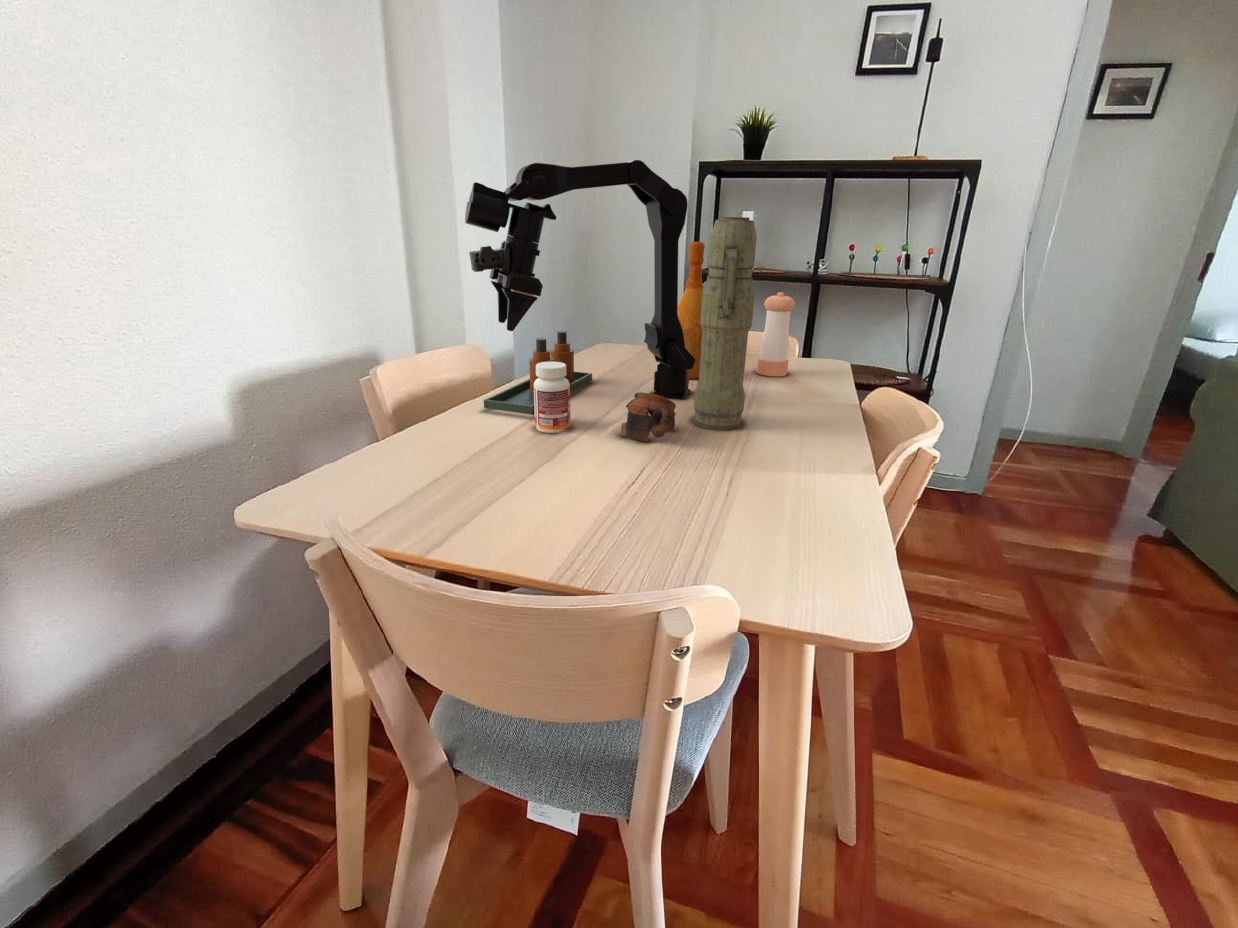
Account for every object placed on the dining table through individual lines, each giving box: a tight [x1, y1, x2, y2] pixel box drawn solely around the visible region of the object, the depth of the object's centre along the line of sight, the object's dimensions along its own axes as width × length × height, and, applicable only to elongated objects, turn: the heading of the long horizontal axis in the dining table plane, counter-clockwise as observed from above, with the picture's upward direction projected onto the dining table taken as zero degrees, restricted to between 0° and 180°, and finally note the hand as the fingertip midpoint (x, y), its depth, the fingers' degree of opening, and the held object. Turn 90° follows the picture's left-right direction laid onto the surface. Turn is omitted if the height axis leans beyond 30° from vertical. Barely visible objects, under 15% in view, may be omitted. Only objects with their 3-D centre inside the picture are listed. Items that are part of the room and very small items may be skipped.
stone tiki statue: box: [693, 216, 758, 431], centre depth 106 cm, size 9×12×35 cm
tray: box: [483, 370, 593, 416], centre depth 125 cm, size 10×28×2 cm, turn 159°
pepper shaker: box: [756, 291, 796, 377], centre depth 146 cm, size 7×7×19 cm
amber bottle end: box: [550, 330, 575, 384], centre depth 132 cm, size 5×5×11 cm
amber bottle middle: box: [528, 337, 554, 395], centre depth 123 cm, size 5×5×11 cm
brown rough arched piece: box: [620, 391, 677, 443], centre depth 104 cm, size 12×10×8 cm
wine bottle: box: [678, 241, 706, 380], centre depth 140 cm, size 10×10×30 cm
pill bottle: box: [534, 362, 571, 434], centre depth 105 cm, size 6×6×11 cm
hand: (505, 326), depth 113 cm, fingers open, 9 cm apart
